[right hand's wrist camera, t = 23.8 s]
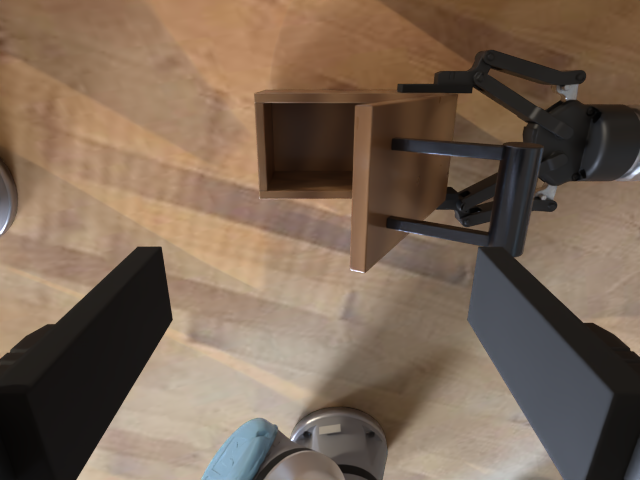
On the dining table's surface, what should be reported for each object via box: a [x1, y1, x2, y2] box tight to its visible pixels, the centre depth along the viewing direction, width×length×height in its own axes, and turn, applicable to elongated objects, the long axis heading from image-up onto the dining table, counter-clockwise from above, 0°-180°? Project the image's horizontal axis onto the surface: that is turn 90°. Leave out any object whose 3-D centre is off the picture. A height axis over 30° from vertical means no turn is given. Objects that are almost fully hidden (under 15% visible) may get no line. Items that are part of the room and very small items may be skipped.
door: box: [350, 94, 544, 273], centre depth 29 cm, size 18×10×9 cm
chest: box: [254, 90, 448, 199], centre depth 43 cm, size 18×10×10 cm, turn 90°
